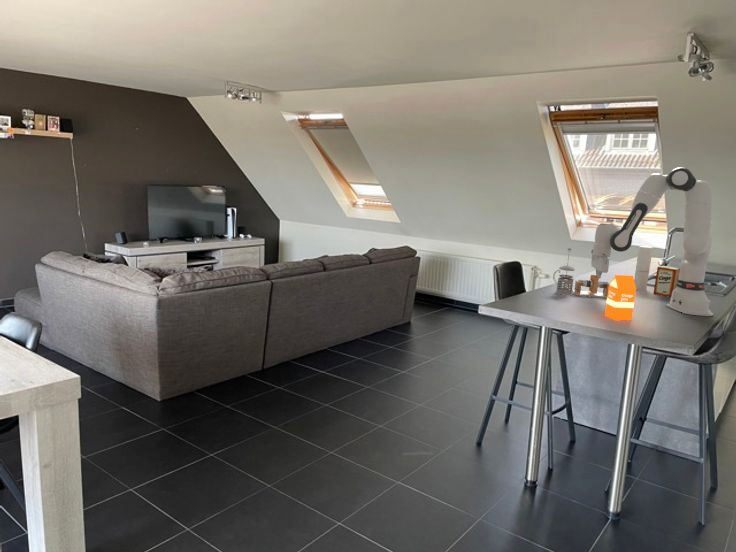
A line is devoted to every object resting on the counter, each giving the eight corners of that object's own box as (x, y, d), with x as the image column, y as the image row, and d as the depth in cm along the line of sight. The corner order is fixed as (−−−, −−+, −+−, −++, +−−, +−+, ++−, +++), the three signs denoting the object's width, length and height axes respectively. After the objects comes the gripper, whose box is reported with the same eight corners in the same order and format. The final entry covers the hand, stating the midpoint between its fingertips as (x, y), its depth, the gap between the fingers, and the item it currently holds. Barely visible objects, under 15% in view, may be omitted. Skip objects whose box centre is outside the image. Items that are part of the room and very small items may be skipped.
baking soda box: (675, 296, 304) (680, 267, 301) (671, 297, 300) (675, 268, 297) (657, 292, 311) (662, 265, 308) (653, 293, 307) (657, 266, 304)
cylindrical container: (643, 288, 323) (649, 246, 318) (648, 290, 316) (655, 248, 311) (631, 287, 323) (637, 245, 319) (635, 289, 316) (642, 247, 312)
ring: (596, 293, 291) (598, 278, 289) (592, 293, 291) (594, 277, 290) (592, 290, 299) (594, 275, 298) (588, 290, 300) (590, 274, 298)
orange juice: (604, 315, 252) (610, 273, 248) (622, 316, 252) (628, 274, 249) (613, 320, 244) (619, 276, 240) (631, 321, 245) (638, 277, 241)
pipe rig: (613, 298, 289) (615, 284, 288) (576, 295, 292) (578, 281, 290) (607, 294, 300) (609, 280, 298) (571, 291, 302) (573, 277, 301)
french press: (570, 296, 289) (576, 250, 284) (548, 292, 296) (554, 247, 291) (575, 293, 297) (581, 248, 292) (554, 290, 304) (560, 245, 299)
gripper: (613, 256, 281) (609, 282, 283) (602, 250, 300) (599, 275, 303) (600, 255, 281) (597, 281, 284) (590, 249, 301) (587, 274, 304)
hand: (598, 278), depth 294 cm, fingers closed, pressing on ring
